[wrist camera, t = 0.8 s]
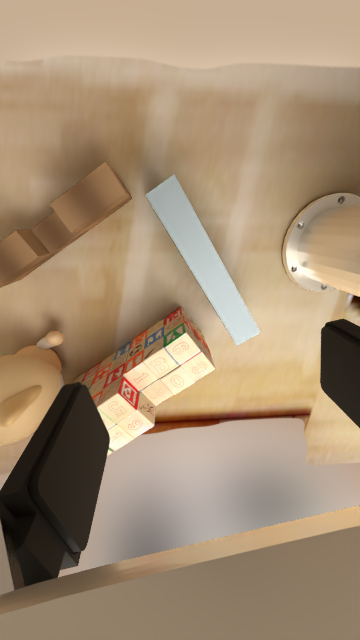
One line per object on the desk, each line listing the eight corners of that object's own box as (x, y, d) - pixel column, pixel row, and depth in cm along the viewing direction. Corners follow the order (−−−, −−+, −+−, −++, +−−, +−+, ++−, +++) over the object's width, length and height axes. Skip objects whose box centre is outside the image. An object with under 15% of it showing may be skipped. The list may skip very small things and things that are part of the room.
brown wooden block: (116, 174, 27) (105, 161, 22) (132, 198, 28) (125, 192, 23) (2, 259, 30) (-34, 267, 24) (21, 279, 31) (-10, 291, 25)
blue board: (149, 203, 29) (145, 194, 20) (170, 188, 28) (174, 173, 20) (219, 317, 35) (237, 345, 27) (236, 306, 35) (260, 332, 26)
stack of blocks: (180, 304, 34) (190, 344, 23) (204, 335, 36) (223, 386, 25) (72, 380, 38) (33, 448, 26) (99, 404, 40) (74, 476, 28)
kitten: (14, 400, 38) (-70, 501, 24) (-26, 349, 34) (-153, 434, 20) (100, 372, 37) (64, 460, 23) (69, 317, 33) (4, 382, 20)
